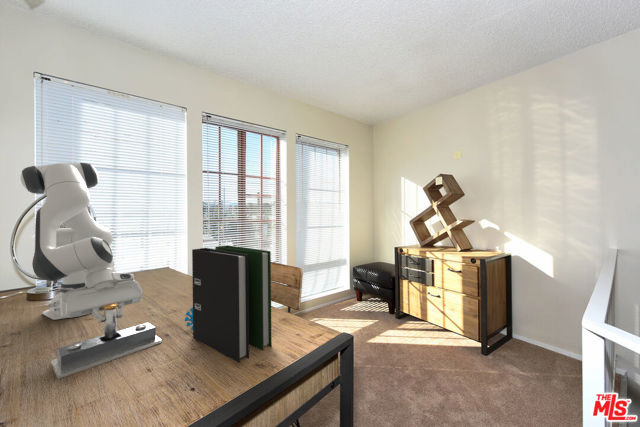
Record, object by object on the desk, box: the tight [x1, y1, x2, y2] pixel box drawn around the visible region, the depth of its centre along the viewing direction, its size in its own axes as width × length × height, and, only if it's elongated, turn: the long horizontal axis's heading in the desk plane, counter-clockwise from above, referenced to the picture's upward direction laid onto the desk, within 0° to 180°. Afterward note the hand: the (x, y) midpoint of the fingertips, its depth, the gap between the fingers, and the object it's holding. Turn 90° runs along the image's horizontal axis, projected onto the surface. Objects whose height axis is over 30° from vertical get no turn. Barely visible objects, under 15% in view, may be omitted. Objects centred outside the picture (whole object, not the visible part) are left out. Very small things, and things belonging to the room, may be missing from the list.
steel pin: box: [103, 303, 118, 338], centre depth 86 cm, size 4×4×10 cm
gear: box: [184, 307, 193, 331], centre depth 106 cm, size 11×6×10 cm
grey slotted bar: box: [51, 322, 163, 380], centre depth 86 cm, size 26×12×6 cm, turn 141°
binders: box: [191, 245, 273, 364], centre depth 93 cm, size 27×15×32 cm, turn 51°
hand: (111, 319), depth 86 cm, fingers closed on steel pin, 3 cm apart
